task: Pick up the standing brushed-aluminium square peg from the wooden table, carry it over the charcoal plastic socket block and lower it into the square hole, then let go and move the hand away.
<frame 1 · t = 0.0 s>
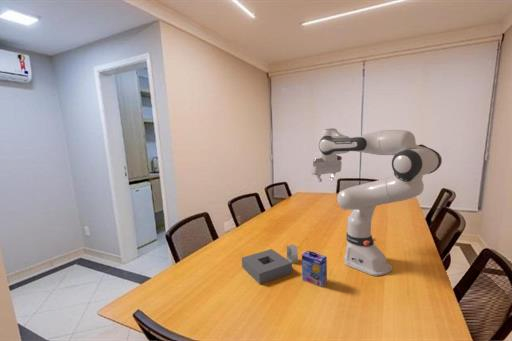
hand: (325, 180, 143), 39 cm above the table, fingers open, 8 cm apart
peg: (292, 261, 129), on the table
ink cartridge box: (314, 281, 111), on the table
socket block: (266, 269, 122), on the table
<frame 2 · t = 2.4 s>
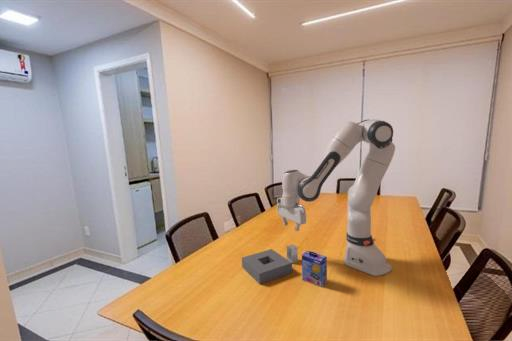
hand: (291, 227, 127), 18 cm above the table, fingers open, 8 cm apart
nothing on the table moved.
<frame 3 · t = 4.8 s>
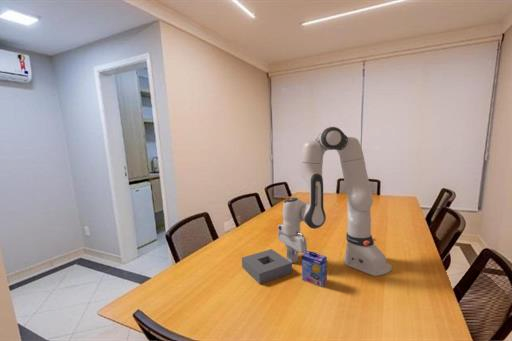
hand: (292, 254, 129), 4 cm above the table, fingers closed on peg, 4 cm apart
peg: (292, 261, 129), on the table, touching gripper
everything else where it was.
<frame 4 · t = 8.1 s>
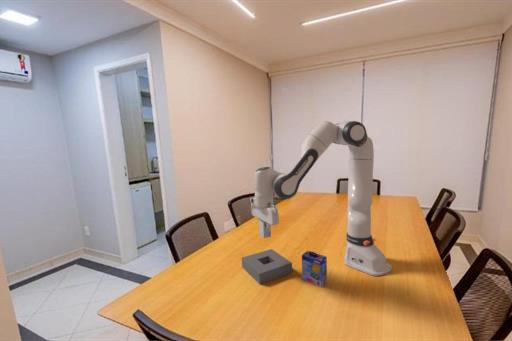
hand: (265, 229, 119), 21 cm above the table, fingers closed on peg, 4 cm apart
peg: (265, 236, 120), point 17 cm above the table, touching gripper
everything else where it was.
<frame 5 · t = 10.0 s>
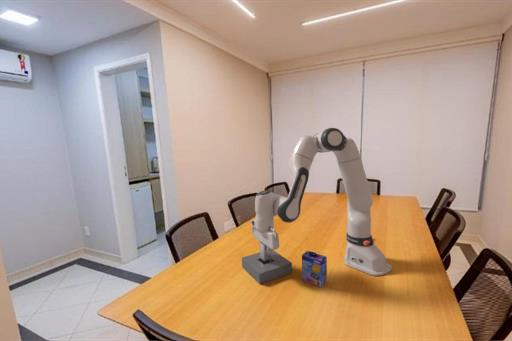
hand: (265, 251, 121), 9 cm above the table, fingers closed on peg, 4 cm apart
peg: (265, 258, 121), point 6 cm above the table, touching gripper
everything else where it was.
when the fingers open (7 cm above the table, at t = 11.4 s): peg drops 3 cm, resting in socket block.
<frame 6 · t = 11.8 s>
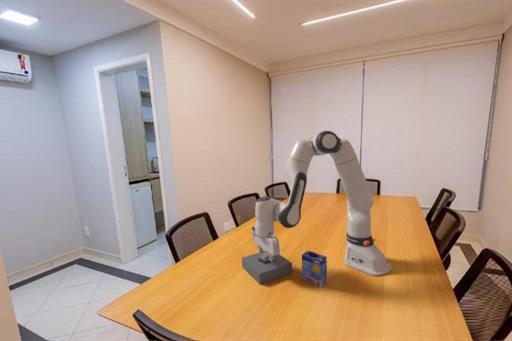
hand: (266, 257, 121), 7 cm above the table, fingers open, 8 cm apart
peg: (266, 269, 122), resting in socket block
everything else where it was.
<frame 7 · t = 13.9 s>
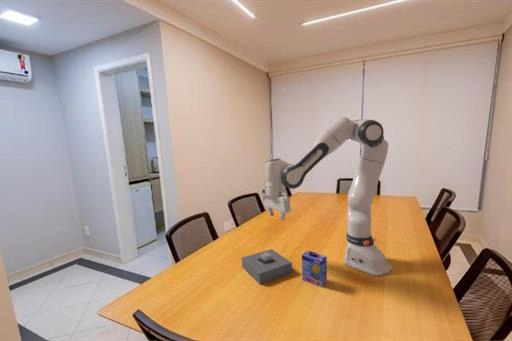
hand: (276, 217, 125), 24 cm above the table, fingers open, 8 cm apart
nothing on the table moved.
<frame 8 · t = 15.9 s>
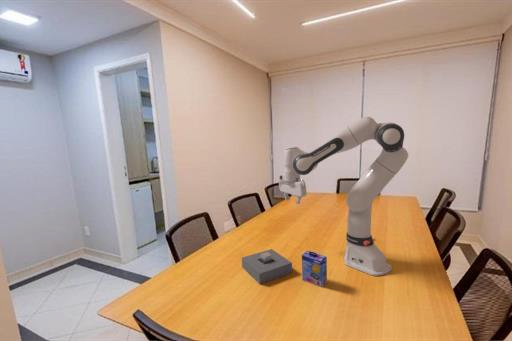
hand: (292, 201, 136), 29 cm above the table, fingers open, 8 cm apart
nothing on the table moved.
at the end: peg 0.0 cm off-centre on the socket block, point 0.0 cm above the socket block's base; peg tilted 0°; the gripper is holding nothing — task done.
